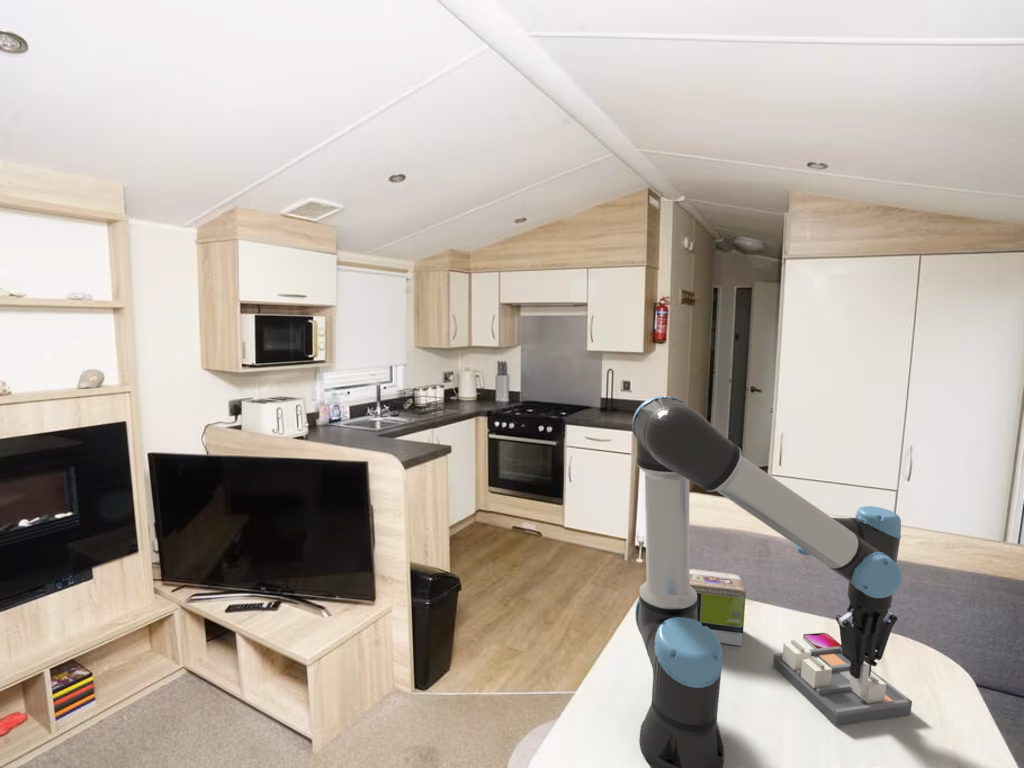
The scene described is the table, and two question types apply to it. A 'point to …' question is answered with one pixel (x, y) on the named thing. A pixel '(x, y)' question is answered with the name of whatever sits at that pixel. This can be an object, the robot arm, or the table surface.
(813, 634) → the smartphone
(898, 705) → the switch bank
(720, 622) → the tea box
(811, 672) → the tab
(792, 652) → the tab
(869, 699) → the tab
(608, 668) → the table surface
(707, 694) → the robot arm
